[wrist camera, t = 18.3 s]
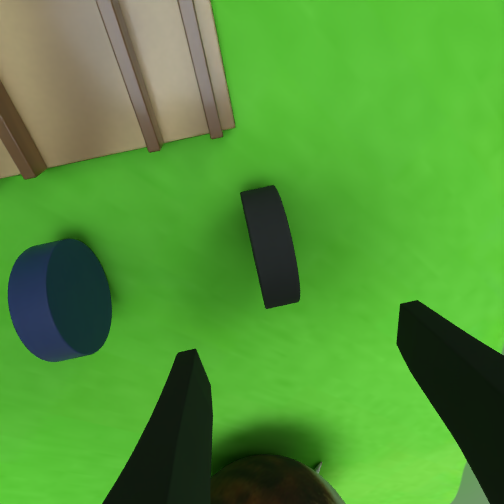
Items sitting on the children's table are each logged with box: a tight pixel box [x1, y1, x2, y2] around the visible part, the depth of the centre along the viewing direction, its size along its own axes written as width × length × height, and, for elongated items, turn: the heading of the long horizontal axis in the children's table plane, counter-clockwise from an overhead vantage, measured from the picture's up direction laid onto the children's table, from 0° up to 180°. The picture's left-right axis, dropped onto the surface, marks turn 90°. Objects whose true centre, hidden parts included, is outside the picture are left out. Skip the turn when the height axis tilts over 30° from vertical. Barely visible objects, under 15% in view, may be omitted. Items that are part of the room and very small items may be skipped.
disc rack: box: [0, 0, 235, 179], centre depth 14 cm, size 14×7×2 cm, turn 101°
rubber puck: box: [240, 185, 300, 309], centre depth 18 cm, size 2×6×6 cm, turn 11°
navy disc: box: [8, 239, 112, 362], centre depth 18 cm, size 2×6×6 cm, turn 11°
